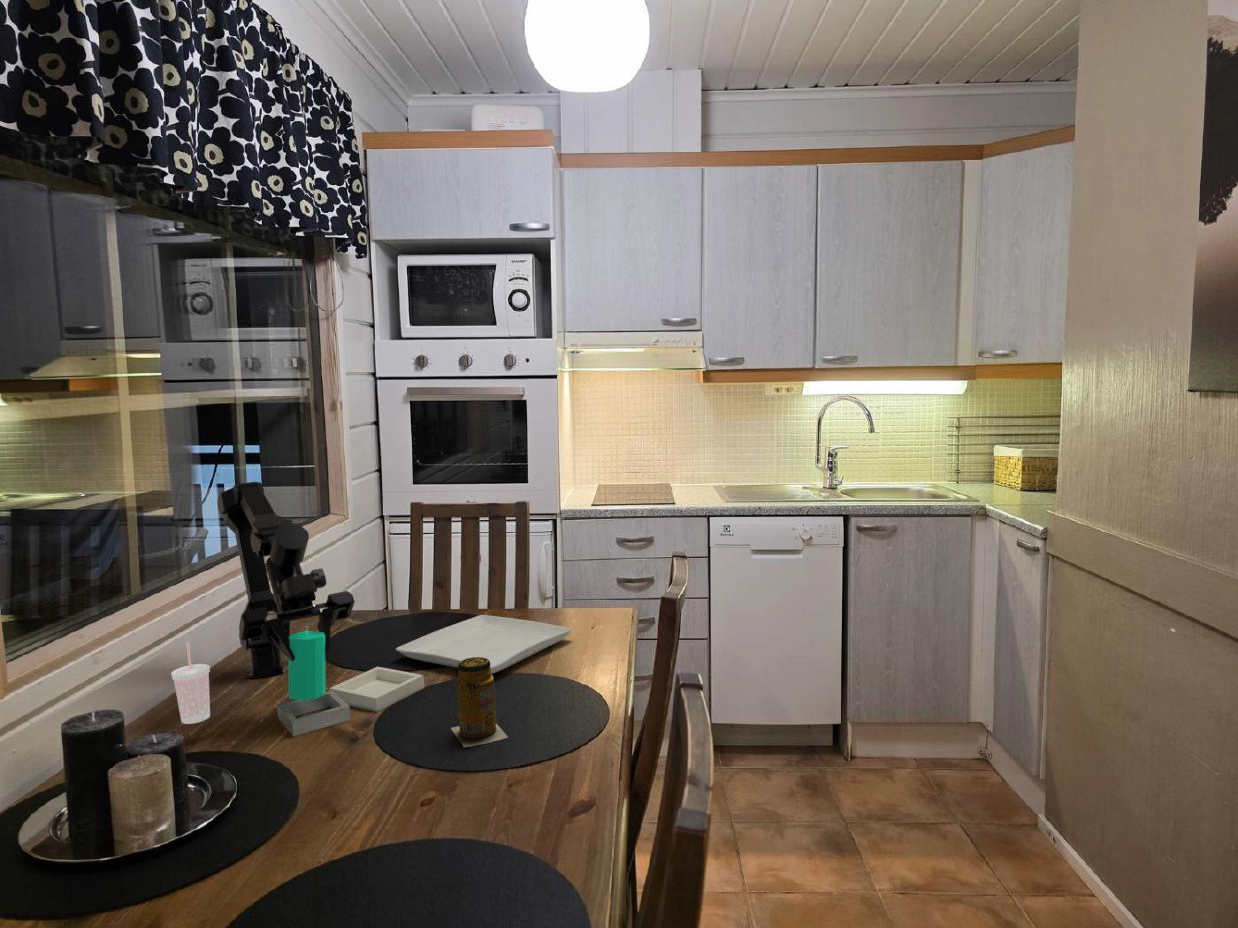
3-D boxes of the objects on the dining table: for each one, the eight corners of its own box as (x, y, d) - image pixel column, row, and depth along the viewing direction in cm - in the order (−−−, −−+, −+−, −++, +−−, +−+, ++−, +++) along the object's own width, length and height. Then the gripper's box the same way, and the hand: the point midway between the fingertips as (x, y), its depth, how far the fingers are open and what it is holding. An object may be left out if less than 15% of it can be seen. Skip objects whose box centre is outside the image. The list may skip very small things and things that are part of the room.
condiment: (492, 719, 138) (488, 651, 137) (508, 738, 130) (503, 666, 129) (450, 729, 135) (445, 660, 133) (464, 749, 127) (459, 676, 126)
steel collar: (278, 718, 142) (277, 704, 142) (333, 703, 148) (332, 690, 148) (293, 736, 135) (292, 722, 134) (350, 719, 140) (349, 706, 140)
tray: (330, 701, 149) (329, 688, 149) (378, 678, 159) (377, 666, 159) (377, 711, 143) (376, 698, 143) (424, 687, 154) (423, 675, 153)
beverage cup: (208, 708, 148) (200, 634, 147) (219, 717, 144) (211, 641, 143) (171, 719, 144) (163, 643, 143) (182, 728, 140) (174, 650, 138)
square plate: (575, 643, 177) (574, 625, 177) (492, 685, 154) (491, 666, 154) (482, 627, 192) (481, 611, 191) (394, 664, 169) (392, 646, 168)
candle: (312, 701, 137) (312, 631, 136) (281, 698, 138) (280, 629, 137) (332, 690, 143) (332, 623, 142) (302, 687, 144) (301, 620, 143)
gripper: (236, 565, 136) (258, 645, 128) (347, 547, 147) (373, 619, 139) (230, 601, 143) (251, 678, 135) (336, 581, 154) (361, 651, 146)
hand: (310, 655), depth 139 cm, fingers closed on candle, 5 cm apart
